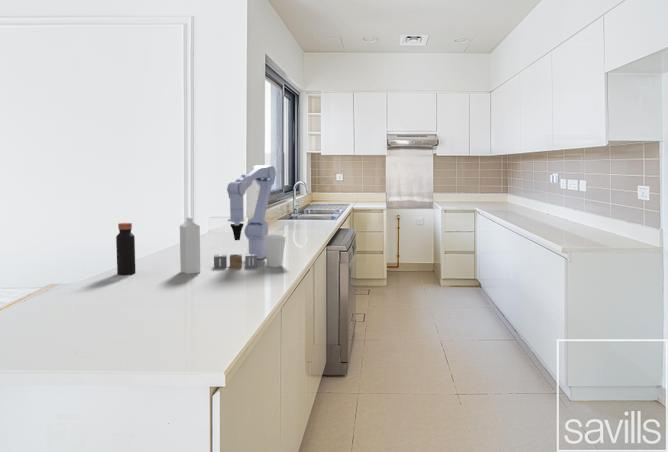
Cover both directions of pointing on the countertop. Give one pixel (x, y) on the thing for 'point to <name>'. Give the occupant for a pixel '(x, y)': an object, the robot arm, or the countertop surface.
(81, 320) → the countertop surface
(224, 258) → the charcoal block
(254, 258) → the slate block
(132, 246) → the bottle
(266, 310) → the countertop surface
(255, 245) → the robot arm
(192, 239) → the milk
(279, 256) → the foam cup
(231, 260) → the walnut block
